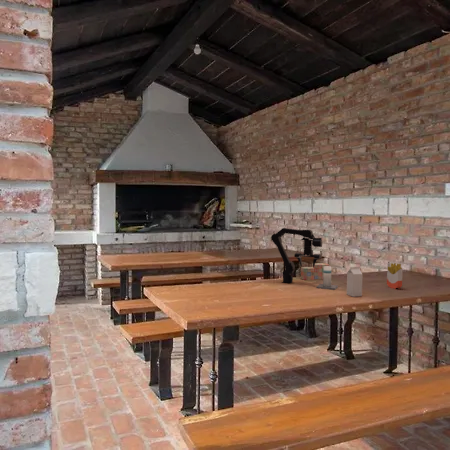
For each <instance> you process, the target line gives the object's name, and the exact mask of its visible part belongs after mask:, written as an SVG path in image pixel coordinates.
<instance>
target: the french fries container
mask: <svg viewBox="0 0 450 450" xmlns="http://www.w3.org/2000/svg"><path fill="white" fill-rule="evenodd" d="M403 271H404V270H403V267H402V264H401V263H396V262H394V263H393V262H391V263H390V266H387V274H386V284H387V286H388V288H389V287H390V288H389V289H393V288H394V289H393V290H397V289H396V288H399V289H401V287H402V286H403Z"/></svg>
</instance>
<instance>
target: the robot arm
mask: <svg viewBox="0 0 450 450" xmlns="http://www.w3.org/2000/svg"><path fill="white" fill-rule="evenodd" d="M285 234H287V235H288V234H290V235H296V236H301V237H302V238H301V239H300V240H301V241H303V253H302V252H295V253H294V258H295V259H297V260H298V264H299V265H300V268H301V267H303V261H302V258H303V257H307V258H313V260H312V263H313V268H314V266H315V263H317V261H318V260H319V259H322V255H321V254H320V253H315V254H314V250H313V248H322V247H323V240H322V237H316V236H315V234H313V231H312V230H311V229H295V228H287V227H282V228H281V229H280V230H278V231H277V232H276V233H274V234H271V236H270V240H271V241H272V242H273V244H274V245H275V246H276V247H277V250H278V253H279V254H280V256H281V258H282V261H283V264H284V270H283V272H282V283H283V284H292V283H293V281H294V276H293V273H294V272H295V270H296V265H295V264H294V261H291V260H290V258H289V256H288V254H287V251H286V249H285V248H284V245H283V241H282V237H283V236H284V235H285ZM312 247H313V248H312Z"/></svg>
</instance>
